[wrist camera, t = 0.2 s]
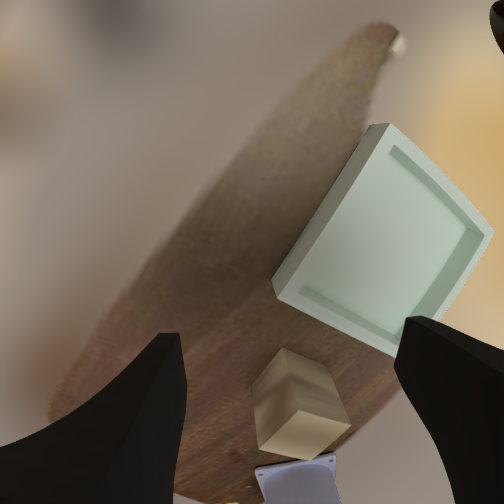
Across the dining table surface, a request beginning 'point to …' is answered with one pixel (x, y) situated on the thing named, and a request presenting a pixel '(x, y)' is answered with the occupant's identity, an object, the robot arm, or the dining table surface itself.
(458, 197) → the sage tray
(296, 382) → the maple block
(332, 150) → the dining table surface
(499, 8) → the supplement bottle
